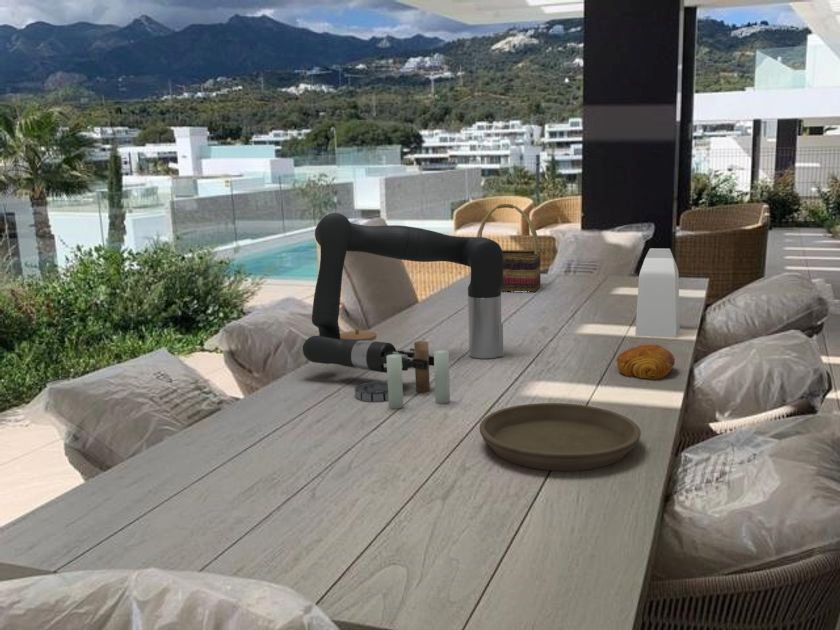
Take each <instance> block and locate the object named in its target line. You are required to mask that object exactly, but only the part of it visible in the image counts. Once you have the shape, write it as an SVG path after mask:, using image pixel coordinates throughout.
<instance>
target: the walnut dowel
mask: <svg viewBox="0 0 840 630" xmlns="http://www.w3.org/2000/svg"><path fill="white" fill-rule="evenodd" d="M413 344H414V347H413V349H414V350H415V359H422V360H428V361H429V356H430V355H429V354H430V353H429V352H430V351H429V342H428V341H426V340H419V341H415V342H413ZM414 371H415V373H414V375H415V376H414V377H415V391H416V392H417V393H427V392H430V390H431V389H430V388H431V387H430V386H431V385H430V367H429V368H428V369H426V370H425V369H417V368H414Z"/></svg>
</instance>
